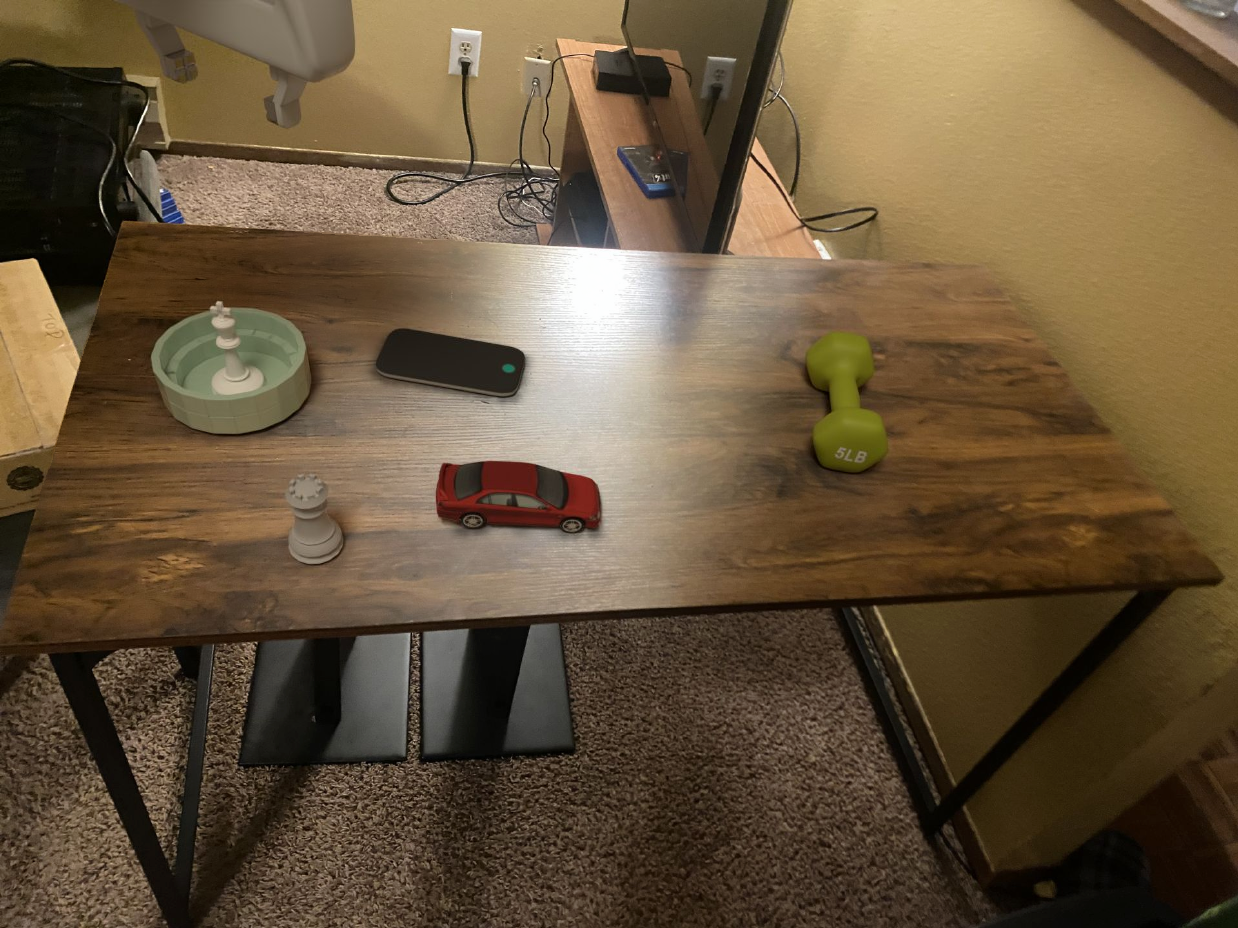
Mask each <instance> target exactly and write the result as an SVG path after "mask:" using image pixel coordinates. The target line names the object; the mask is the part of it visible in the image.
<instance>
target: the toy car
mask: <svg viewBox="0 0 1238 928" xmlns="http://www.w3.org/2000/svg"><path fill="white" fill-rule="evenodd" d="M435 506H436V513H437V516H438V518H439V519H444V520H445V519H446V520H450V521H453V522H454V521H455V522H459V521H460V523H461V525H462V526H463V527H465V528H468V529H478V528H481V527H483V526H484V525H485V522H486V524H487V525H507V526H508V525H509V526H510V525H511V526H526V527H527V526H531V527H548V528H549V527H550V528H559V527H560V529H561V531H563V532H564V533H568V534H575V533H578V532H581V531H582V530H583V529H584V527H585V529H597V528H599V525H600V522H601V519H602V518H601V517H602V499H601V492H600V489H599V486H598V483H596V482H595V480H594V479H593V478H591V477H589V476H585V475H581V474H575V473H571V472H566V471H560V470H557V469H554V468H550V467H547V466H543V465H540V464H536V463H531V462H525V461H511V460H507V461H506V460H482V461H474V462H468V463H463V464H462V463H461V464H459V463H458V464H457V463H450V462H443V463H442V464H441V466H440V469H439V472H438V479H437V482H436V487H435Z"/></svg>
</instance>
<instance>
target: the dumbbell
mask: <svg viewBox="0 0 1238 928" xmlns="http://www.w3.org/2000/svg"><path fill="white" fill-rule="evenodd" d="M805 365H806V369H807V373H808V376H809V379H810V382H811V384H812V386H813V387H814V388H815V389H817V390H820V391H824V392H827V393H829V403H830V404H829V405H830V410H831V412H830V413H828V414H827V415H825V416H823V417H822V418H821V419H820V420H819V421H817V423H815V425H814V426H813V428H812V435H811V436H812V442H813V444H812V445H813V447H814V451H815V455H816V458H817V460H818V462H819V464H820V465H821V466H822V467H823V468H826V469H829V470H833V471H839V472H846V473H861V472H863V471H865V470H867V469H868V468H870V467H872V466H874V465H875V464H877V463H878V462H880V461H882V460H883V459H884V458H885V457H886V456H887V455H888V453H889V441H888V436H887V435H888V434H887V430H886V426H885V423H884V421H883V418H882V416H881V415H880V414H879V413H878V412H875V411H873V410H870V409H866V408H861V397H860V393H859V388H860V387H861V386H864V385H865V384H866V383H868V381H870V380H871V379H872V378H873V376H874V374H875V361H874V356H873V351H872V347H871V343H870V341H869V339H868V338H867V337H866V336H864V335H861V334H857V333H853V332H848V331H847V332H846V331H840V330H839V331H838V330H835V331H831V332H829V333H827V334H825V335H824V336H821V338H819V339H818V340H817V341H816V342H814V343H813V344H812V345H811V346H810V347H809V348H808V349H807V350H806V352H805Z"/></svg>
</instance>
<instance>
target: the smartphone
mask: <svg viewBox="0 0 1238 928" xmlns="http://www.w3.org/2000/svg"><path fill="white" fill-rule="evenodd" d="M525 362H526V355H525V353H524V351H522V350H521V349H519V348H517V347H515V346H511V345H505V344H499V343H494V342H487V341H483V340H476V339H471V338H465V337H459V336H453V335H448V334H447V335H446V334H441V333H436V332H431V331H424V330H419V329H414V328H407V327H401V328H395V329H393V330H392V331H390V332H389V334H387V336H386V338H385V341H384V343H383V345H382V347H381V350H380V352H379V354H378V355H377V358H376V362H375V369H376V372H377V373H378V374H380V375H381V376H383V377H386V378H388V379H389V378H390V379H395V380H401V381H406V382H412V383H417V384H423V385H429V386H436V387H441V388H448V389H453V390H458V391H465V392H470V393H476V394H482V395H488V396H493V397H510V396H513V395H514V394H516V393H517V391H518V389H519V386H520V383H521V379H522V375H523V371H524V367H525Z"/></svg>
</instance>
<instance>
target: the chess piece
mask: <svg viewBox="0 0 1238 928" xmlns="http://www.w3.org/2000/svg"><path fill="white" fill-rule="evenodd" d="M231 308H232V307H224V302H223V301H220V300H217V301H216V303H215V305H211V306H210V307H209V310H210V311H211V313H218V315H217V316H215V317H214V318H213V319H212V321H211V323H212V325H213V327H214V328H215V329H216V330H217V332H218V334H219V335H220V336H218V337H217V339H216V345H217V346H218V347H220V348H222V349H224V351H225V361H226V367H224V368H222V369H221V370H219V371H218V372H217V373H216V374H215V375H214V376H213V378H212V381H211V385H212V391H213V393H214V395H232V394H237V393H243V392H249V391H253V390H256V389H258V388H261V387H263V386H266V380H265V378H264V375H263V373H262V372H261V371H260V370H259V369H258V368H256V367H254V366H251V365H246V364H242V362H241V359H240V357H239V354H238V352H237V349H236V347H237V346H238V345H239V344H240V342H241V339H240V338H239V336H238V335H236V334H234V327H235V318H234V317H233V316H231V315H230V314H231V313H232V311H231Z"/></svg>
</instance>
